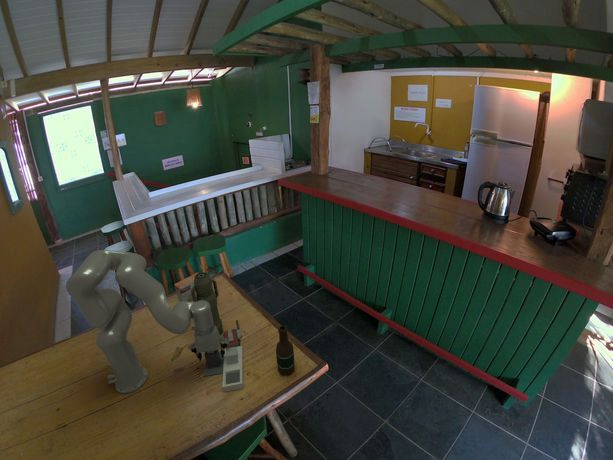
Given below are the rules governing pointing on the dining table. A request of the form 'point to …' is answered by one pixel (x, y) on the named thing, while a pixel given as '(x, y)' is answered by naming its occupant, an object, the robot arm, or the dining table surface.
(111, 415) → the dining table surface
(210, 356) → the block
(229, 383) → the power strip
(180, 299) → the cracker box
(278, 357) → the beer bottle
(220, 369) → the mat
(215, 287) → the thermos
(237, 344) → the walkie-talkie
